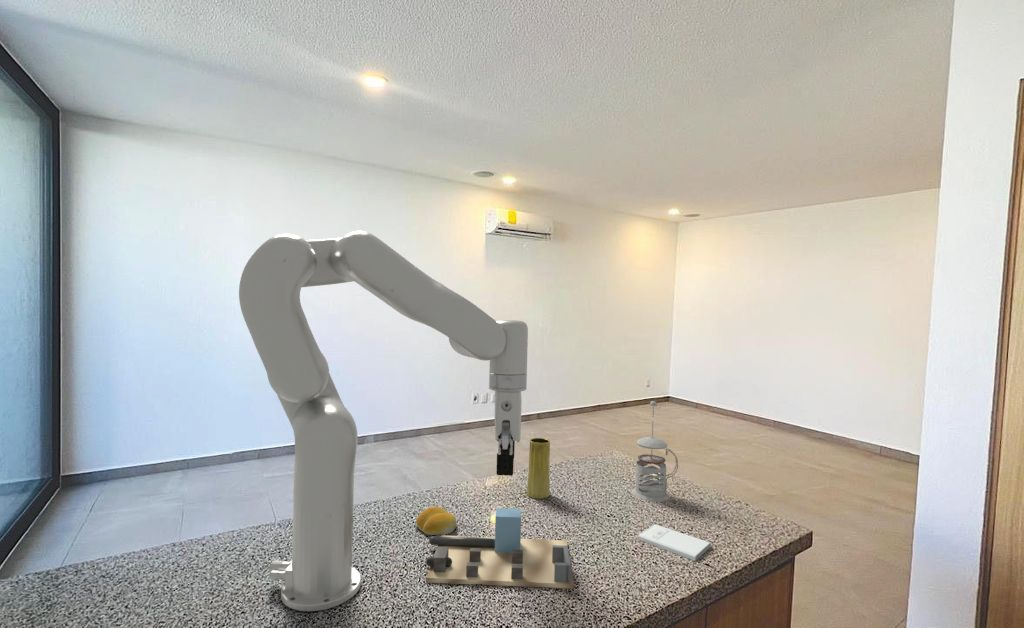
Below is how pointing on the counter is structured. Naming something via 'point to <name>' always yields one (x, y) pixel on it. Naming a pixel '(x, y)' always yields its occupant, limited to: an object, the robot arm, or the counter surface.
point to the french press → (652, 470)
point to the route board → (497, 565)
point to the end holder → (561, 563)
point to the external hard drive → (674, 542)
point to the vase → (539, 468)
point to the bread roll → (436, 521)
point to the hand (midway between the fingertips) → (505, 466)
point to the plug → (504, 534)
